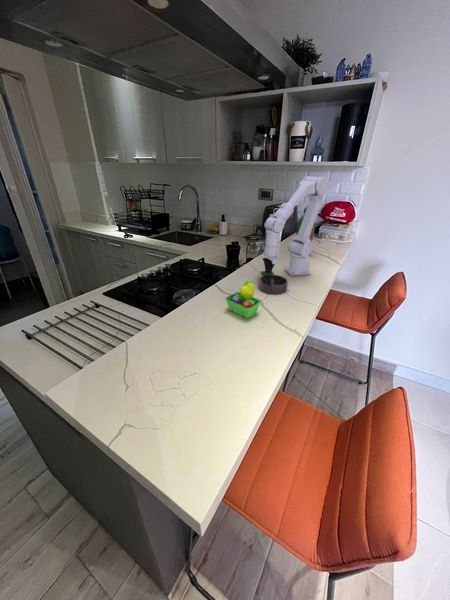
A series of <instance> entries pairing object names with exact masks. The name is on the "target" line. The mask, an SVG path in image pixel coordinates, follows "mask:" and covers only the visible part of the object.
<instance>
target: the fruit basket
mask: <svg viewBox="0 0 450 600" xmlns="http://www.w3.org/2000/svg"><path fill="white" fill-rule="evenodd" d="M238 290H239V291H237V292H235V293H232V294H230V295H228V296H226V297H225V300H226V303H227V307H228V309H229V311H231V312H233V313H235V314H238V315H239V316H242V317H244V318H246V319H249V318H250V317H252V316H254V315H255V314H257V311H258V308H259V307H260V305H261V302H262V301H261V300H260V299H257V298H255V297H254V294H255V284H254V283H253V281H251V280H246V281H245V282H244V283H243V285H242V286H241V287H240V288H239V289H238Z"/></svg>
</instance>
